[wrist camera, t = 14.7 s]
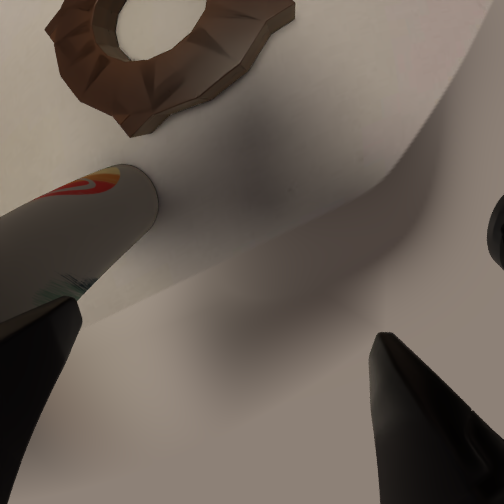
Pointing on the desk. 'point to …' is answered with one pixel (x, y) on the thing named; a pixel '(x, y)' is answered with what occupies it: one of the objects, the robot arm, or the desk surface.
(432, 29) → the desk surface
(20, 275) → the spray bottle
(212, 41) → the bottle holder
